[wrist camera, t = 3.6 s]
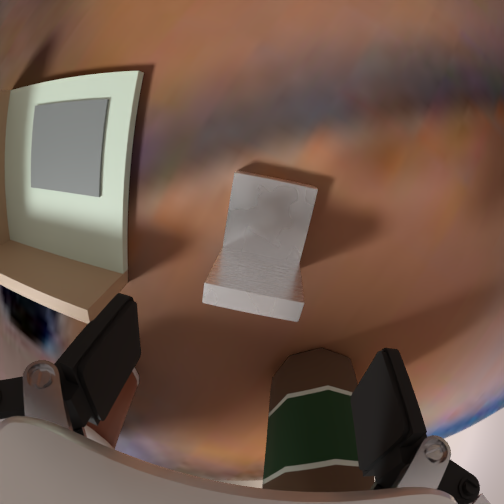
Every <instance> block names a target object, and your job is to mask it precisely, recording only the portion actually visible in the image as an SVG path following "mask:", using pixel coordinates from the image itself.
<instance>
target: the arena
mask: <svg viewBox="0 0 504 504" xmlns="http://www.w3.org/2000/svg"><path fill="white" fill-rule="evenodd" d="M143 75H144V73H143V72H141V71H123V72H110V73H99V74H90V75H83V76H76V77H69V78H63V79H57V80H52V81H47V82H42V83H38V84H33V85H29V86H25V87H21V88H17V89H14V90H3V91H0V284H1V285H3V286H4V287H6V288H8V289H10V290H12V291H14V292H16V293H18V294H20V295H22V296H24V297H26V298H29V299H31V300H33V301H35V302H37V303H39V304H41V305H44V306H46V307H48V308H50V309H53V310H55V311H57V312H60V313H62V314H64V315H67V316H69V317H72V318H74V319H77V320H79V321H82V322H84V323H87V324H88V323H89V322H90V321H92V320H94V319H95V318H96V317H97V316H98V314H99V313H100V312H101V311H102V310H103V309H104V308H105V307H106V305H107V304H108V303H109V302H110V301H111V300H112V299H113V298H114V297H115V295H116V294H118V293H119V292H120V291H121V290H122V288H123V287H124V286H125V285H126V284H127V283H128V254H127V230H128V198H129V181H130V167H131V156H132V146H133V138H134V130H135V122H136V115H137V108H138V102H139V96H140V90H141V85H142V80H143Z"/></svg>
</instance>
